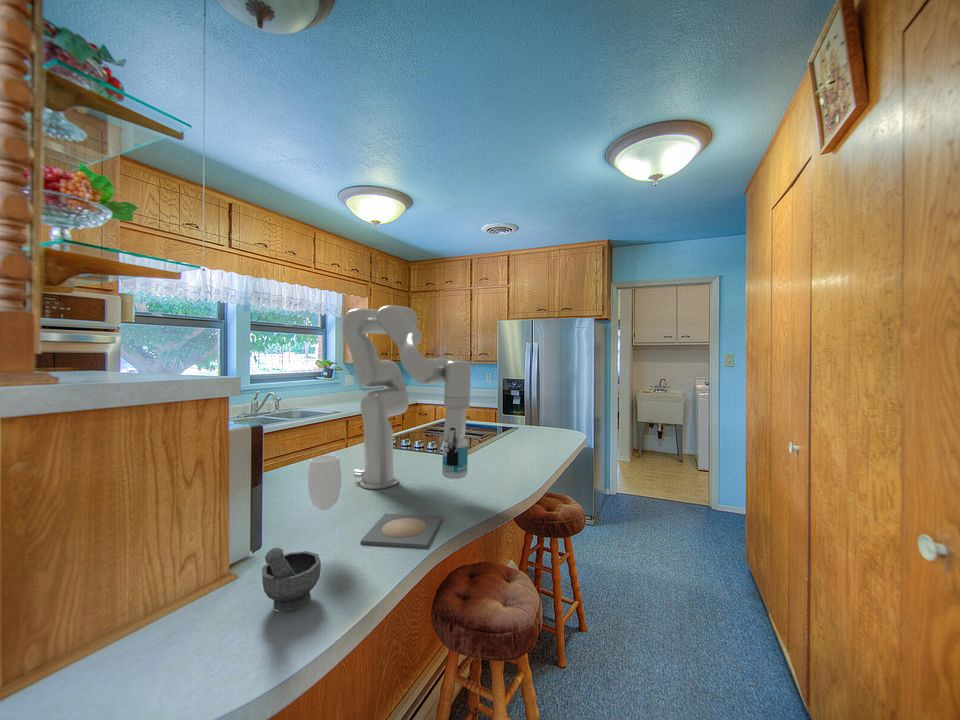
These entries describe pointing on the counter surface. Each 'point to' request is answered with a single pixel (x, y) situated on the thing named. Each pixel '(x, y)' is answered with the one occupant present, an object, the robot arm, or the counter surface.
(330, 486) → the cup
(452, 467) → the pill bottle
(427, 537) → the rest mat
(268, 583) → the mortar and pestle
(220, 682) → the counter surface
